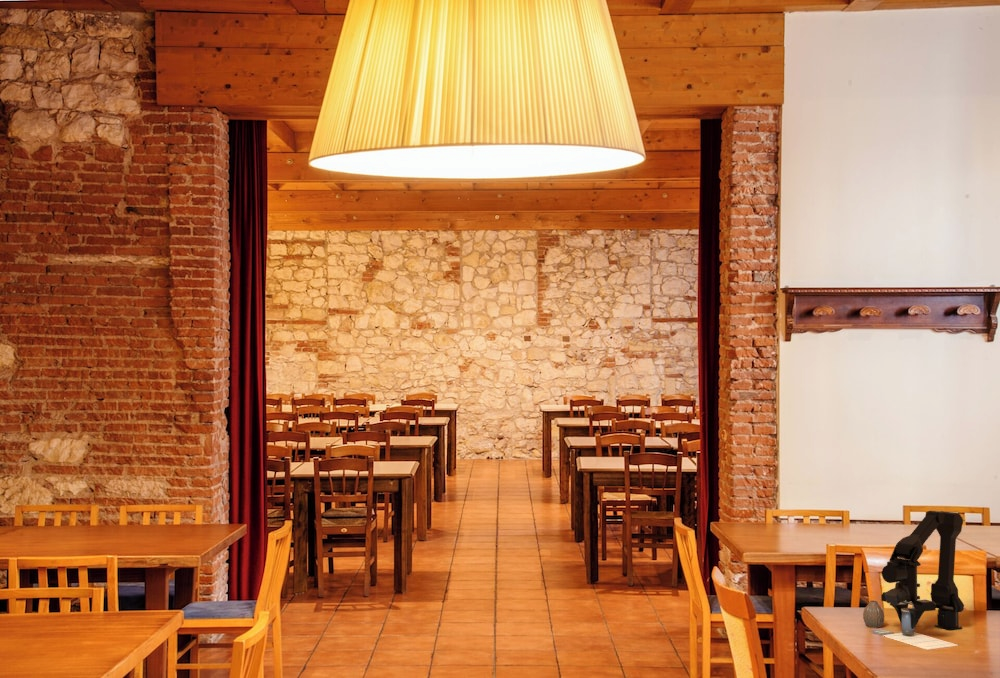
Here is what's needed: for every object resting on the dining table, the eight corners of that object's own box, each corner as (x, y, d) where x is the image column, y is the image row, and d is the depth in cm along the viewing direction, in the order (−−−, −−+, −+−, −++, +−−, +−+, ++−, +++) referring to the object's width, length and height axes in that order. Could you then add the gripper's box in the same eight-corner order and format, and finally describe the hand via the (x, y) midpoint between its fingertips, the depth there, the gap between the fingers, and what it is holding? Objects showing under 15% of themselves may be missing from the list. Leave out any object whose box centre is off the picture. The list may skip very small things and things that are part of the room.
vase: (885, 629, 355) (885, 603, 356) (864, 628, 357) (864, 602, 357) (882, 624, 362) (882, 599, 362) (861, 623, 363) (861, 598, 364)
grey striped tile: (883, 630, 354) (883, 629, 354) (893, 633, 350) (893, 632, 350) (870, 632, 351) (870, 630, 351) (880, 635, 347) (880, 633, 347)
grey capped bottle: (907, 631, 349) (907, 607, 349) (917, 634, 345) (917, 610, 345) (898, 632, 347) (898, 608, 347) (908, 635, 343) (907, 611, 343)
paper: (912, 632, 351) (912, 631, 351) (957, 645, 334) (957, 644, 334) (882, 636, 346) (882, 635, 346) (927, 649, 329) (927, 648, 329)
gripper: (868, 576, 352) (868, 623, 351) (911, 586, 335) (911, 635, 334) (893, 574, 356) (893, 620, 356) (936, 584, 339) (937, 632, 339)
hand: (908, 627), depth 346 cm, fingers closed on grey capped bottle, 4 cm apart
